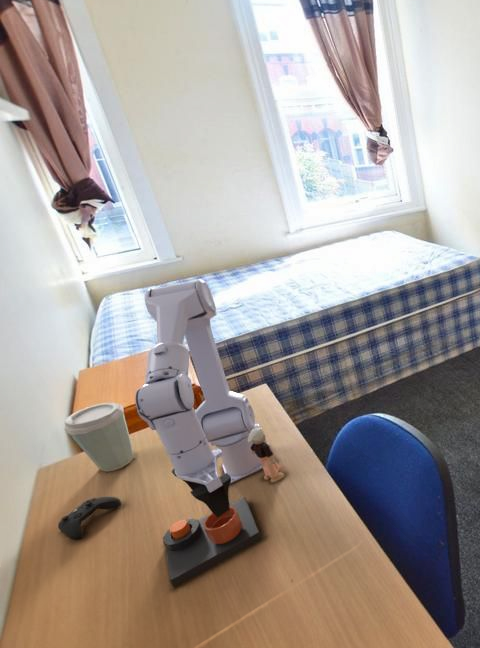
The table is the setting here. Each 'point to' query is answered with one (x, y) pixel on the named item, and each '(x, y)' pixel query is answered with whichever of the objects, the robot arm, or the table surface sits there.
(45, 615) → the table surface
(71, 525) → the game controller
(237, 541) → the grey push button box
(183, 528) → the tare button
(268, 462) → the grandmother figurine
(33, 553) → the table surface
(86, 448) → the disposable coffee cup
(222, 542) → the dish
